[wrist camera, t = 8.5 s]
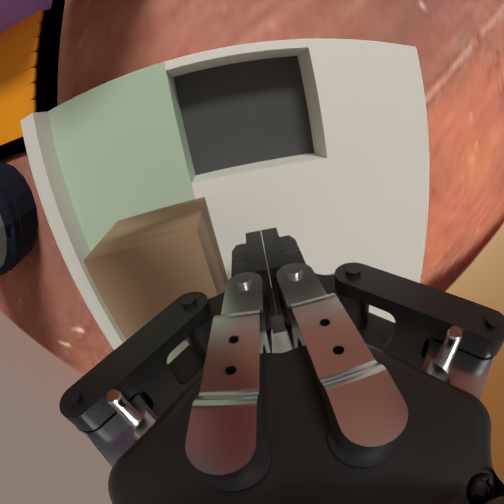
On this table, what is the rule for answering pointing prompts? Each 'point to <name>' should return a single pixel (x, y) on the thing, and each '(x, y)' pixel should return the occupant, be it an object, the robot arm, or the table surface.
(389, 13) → the table surface
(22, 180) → the humidifier
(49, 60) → the dollhouse room
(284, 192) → the box
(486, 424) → the robot arm
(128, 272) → the walnut block
